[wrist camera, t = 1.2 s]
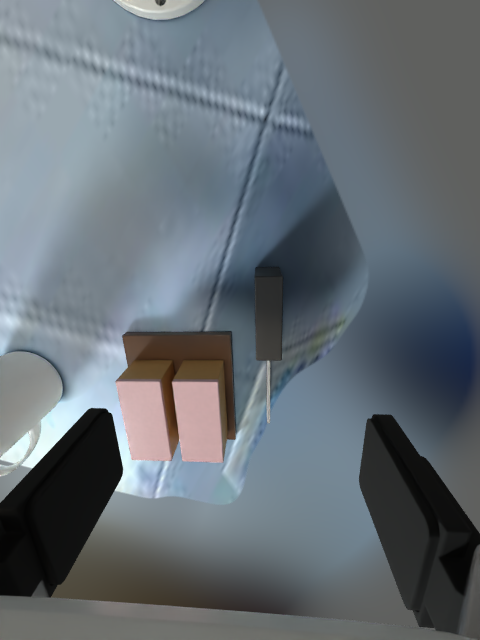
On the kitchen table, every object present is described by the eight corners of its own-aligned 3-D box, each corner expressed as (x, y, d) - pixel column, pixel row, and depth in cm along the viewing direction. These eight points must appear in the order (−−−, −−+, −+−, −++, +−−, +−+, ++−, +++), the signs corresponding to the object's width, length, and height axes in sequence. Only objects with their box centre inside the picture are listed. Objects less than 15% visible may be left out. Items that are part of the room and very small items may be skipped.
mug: (24, 432, 38) (-61, 508, 28) (-14, 352, 34) (-127, 407, 24) (83, 428, 37) (18, 505, 27) (51, 345, 33) (-39, 400, 23)
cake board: (125, 332, 32) (121, 335, 31) (231, 331, 31) (230, 334, 30) (144, 432, 37) (141, 437, 36) (236, 433, 36) (235, 439, 35)
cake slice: (183, 360, 32) (171, 381, 28) (223, 360, 31) (217, 382, 27) (191, 432, 35) (182, 461, 31) (227, 433, 35) (223, 462, 31)
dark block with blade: (255, 267, 29) (254, 276, 24) (279, 266, 29) (283, 275, 24) (257, 400, 34) (257, 429, 29) (277, 400, 34) (280, 430, 29)
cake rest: (134, 359, 32) (115, 381, 28) (172, 360, 32) (159, 381, 28) (146, 431, 36) (131, 460, 31) (182, 432, 35) (171, 461, 31)
